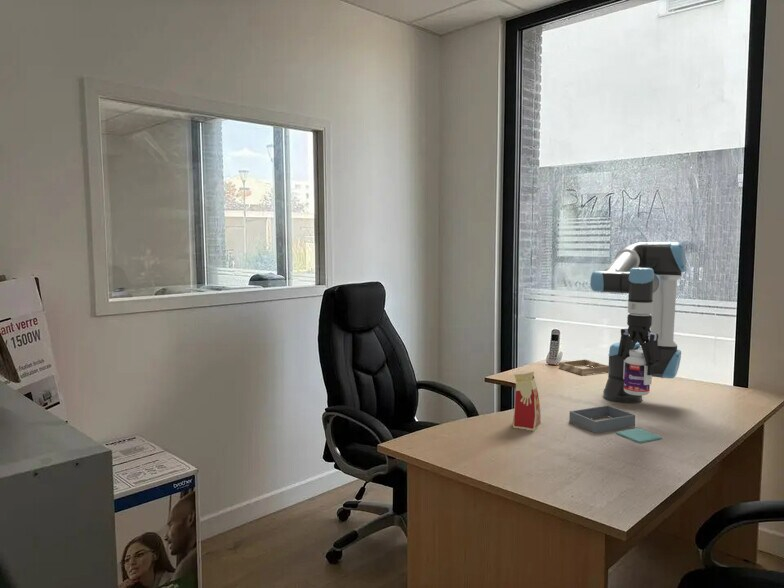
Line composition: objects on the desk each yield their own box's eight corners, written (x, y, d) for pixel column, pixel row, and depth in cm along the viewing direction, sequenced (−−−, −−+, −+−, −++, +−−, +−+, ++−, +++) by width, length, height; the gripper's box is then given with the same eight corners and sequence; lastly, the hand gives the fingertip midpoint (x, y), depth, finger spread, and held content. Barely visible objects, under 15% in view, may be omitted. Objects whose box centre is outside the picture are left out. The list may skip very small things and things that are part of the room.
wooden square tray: (559, 368, 297) (559, 362, 297) (585, 365, 304) (585, 359, 304) (582, 375, 282) (582, 369, 281) (609, 372, 289) (609, 366, 288)
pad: (616, 433, 201) (616, 432, 201) (638, 429, 205) (638, 427, 205) (639, 443, 192) (639, 441, 192) (661, 438, 196) (661, 436, 196)
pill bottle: (626, 395, 194) (627, 353, 193) (621, 389, 202) (623, 348, 201) (652, 397, 193) (653, 353, 191) (646, 390, 201) (648, 349, 199)
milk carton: (540, 423, 212) (541, 369, 210) (535, 431, 204) (536, 374, 202) (515, 420, 216) (516, 366, 214) (509, 427, 207) (510, 372, 205)
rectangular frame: (569, 422, 213) (569, 411, 213) (607, 415, 221) (608, 405, 220) (595, 433, 201) (595, 421, 201) (635, 425, 209) (635, 414, 208)
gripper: (607, 311, 203) (605, 375, 205) (657, 318, 184) (654, 390, 186) (624, 310, 206) (621, 373, 208) (674, 317, 187) (671, 387, 189)
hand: (637, 381), depth 197 cm, fingers closed on pill bottle, 8 cm apart
